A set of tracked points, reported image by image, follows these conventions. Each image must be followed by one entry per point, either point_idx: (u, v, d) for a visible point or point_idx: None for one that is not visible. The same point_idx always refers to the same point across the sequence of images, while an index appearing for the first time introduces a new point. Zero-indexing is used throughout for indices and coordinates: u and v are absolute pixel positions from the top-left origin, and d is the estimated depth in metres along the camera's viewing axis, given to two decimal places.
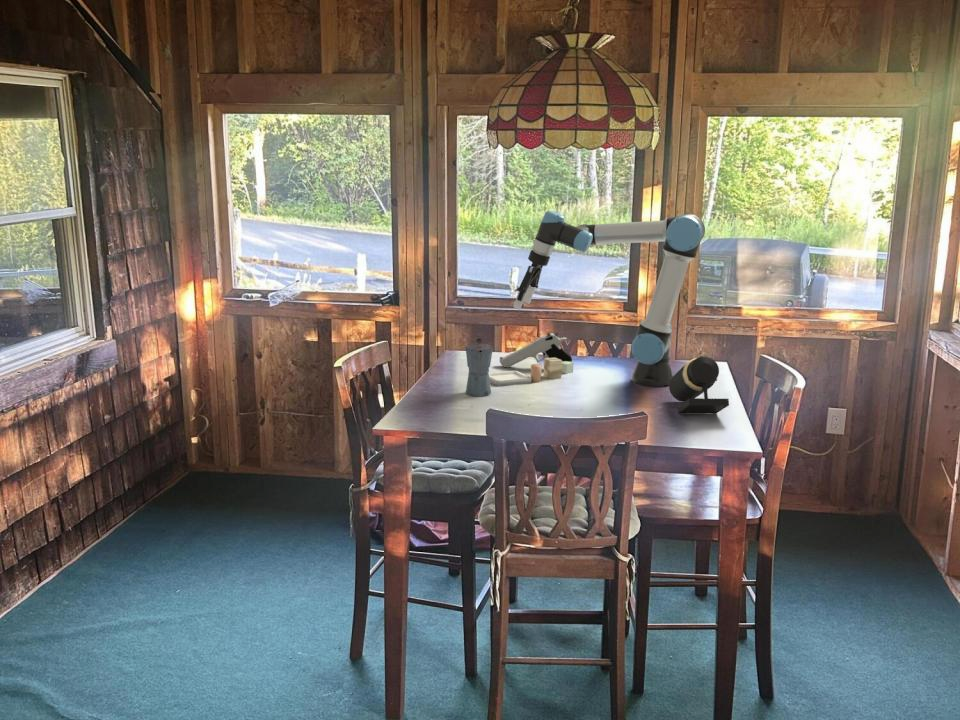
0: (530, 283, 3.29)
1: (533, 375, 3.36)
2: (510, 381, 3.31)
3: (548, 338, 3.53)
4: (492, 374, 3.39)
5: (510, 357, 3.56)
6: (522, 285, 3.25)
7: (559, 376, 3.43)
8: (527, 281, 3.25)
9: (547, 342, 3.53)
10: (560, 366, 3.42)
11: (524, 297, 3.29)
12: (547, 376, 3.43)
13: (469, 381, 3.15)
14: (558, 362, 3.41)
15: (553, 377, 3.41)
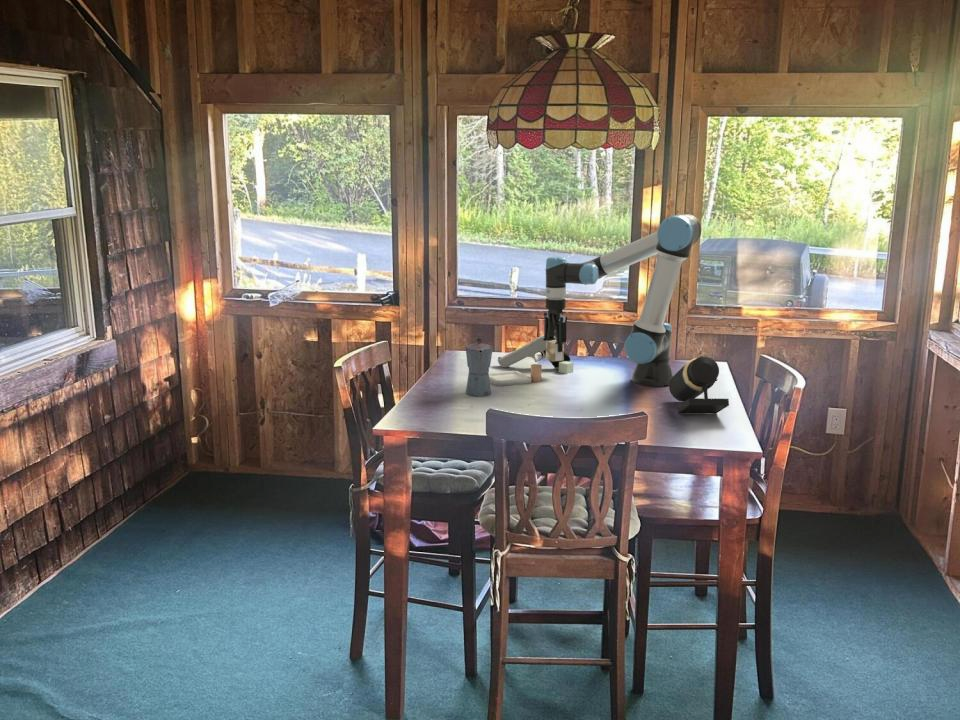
0: None
1: (533, 375, 3.36)
2: (510, 381, 3.31)
3: (546, 338, 3.53)
4: (492, 374, 3.39)
5: (508, 357, 3.56)
6: (562, 337, 3.35)
7: (562, 358, 3.41)
8: (565, 332, 3.35)
9: (545, 342, 3.53)
10: None
11: None
12: (549, 358, 3.41)
13: (469, 381, 3.15)
14: None
15: None
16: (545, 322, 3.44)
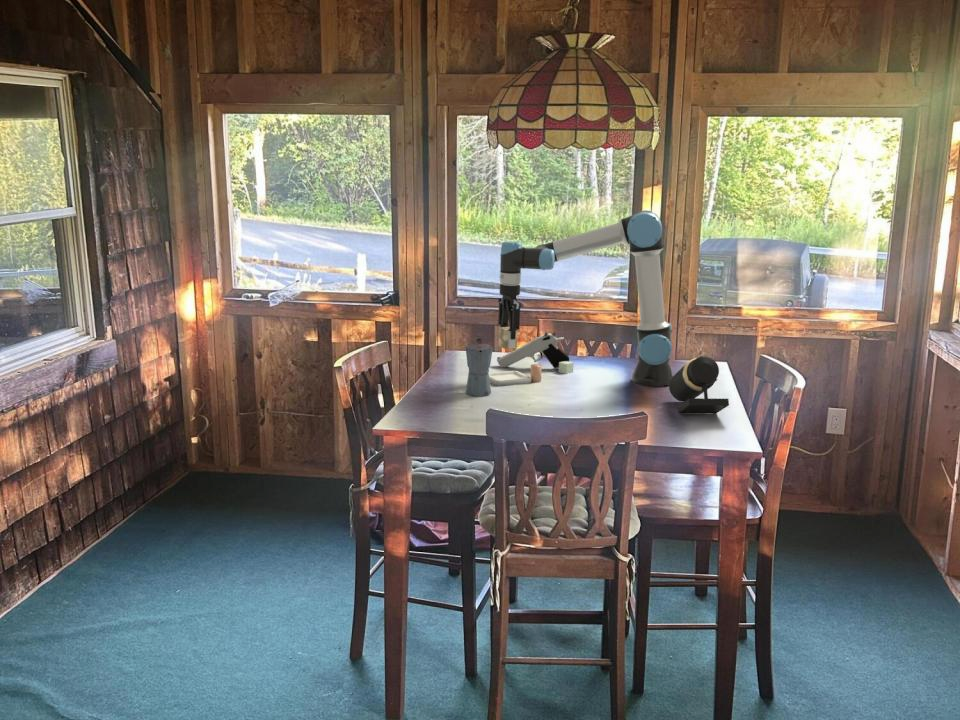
0: None
1: (533, 375, 3.36)
2: (510, 381, 3.31)
3: (545, 338, 3.53)
4: (492, 374, 3.39)
5: (507, 357, 3.56)
6: (515, 324, 3.26)
7: (515, 346, 3.32)
8: (518, 319, 3.26)
9: (544, 342, 3.53)
10: (516, 335, 3.32)
11: None
12: (502, 345, 3.32)
13: (469, 381, 3.15)
14: None
15: None
16: (499, 308, 3.35)
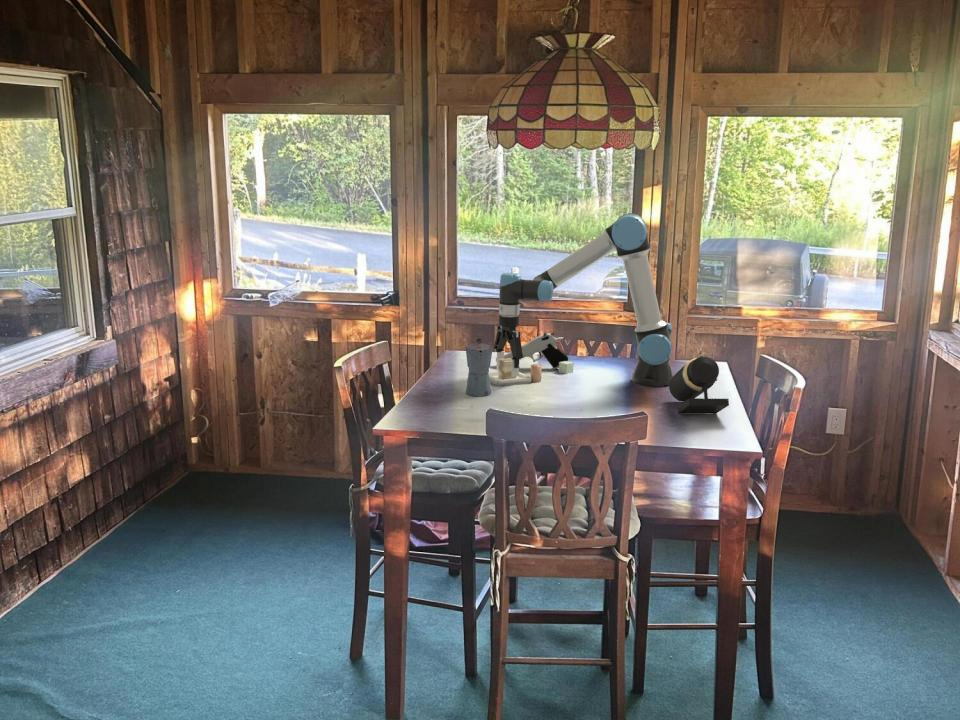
0: None
1: (533, 375, 3.36)
2: (510, 381, 3.31)
3: (544, 338, 3.53)
4: (492, 374, 3.39)
5: (506, 357, 3.56)
6: (518, 353, 3.26)
7: (514, 377, 3.35)
8: (520, 347, 3.27)
9: (543, 342, 3.53)
10: None
11: None
12: (502, 377, 3.35)
13: (469, 381, 3.15)
14: None
15: (508, 378, 3.34)
16: (497, 335, 3.39)
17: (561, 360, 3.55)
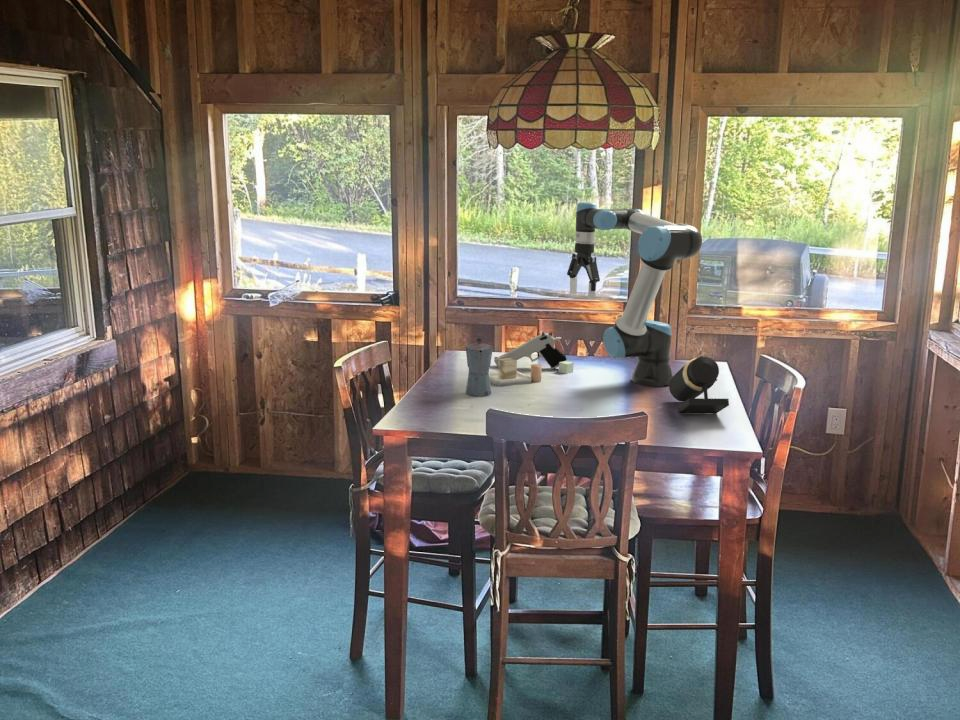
0: None
1: (533, 375, 3.36)
2: (510, 381, 3.31)
3: (543, 338, 3.53)
4: (492, 374, 3.39)
5: (505, 357, 3.56)
6: (595, 276, 3.44)
7: (514, 377, 3.35)
8: (596, 270, 3.44)
9: (542, 342, 3.54)
10: (515, 366, 3.34)
11: None
12: (502, 377, 3.35)
13: (469, 381, 3.15)
14: (513, 363, 3.33)
15: (508, 378, 3.34)
16: (571, 262, 3.57)
17: (559, 360, 3.55)
